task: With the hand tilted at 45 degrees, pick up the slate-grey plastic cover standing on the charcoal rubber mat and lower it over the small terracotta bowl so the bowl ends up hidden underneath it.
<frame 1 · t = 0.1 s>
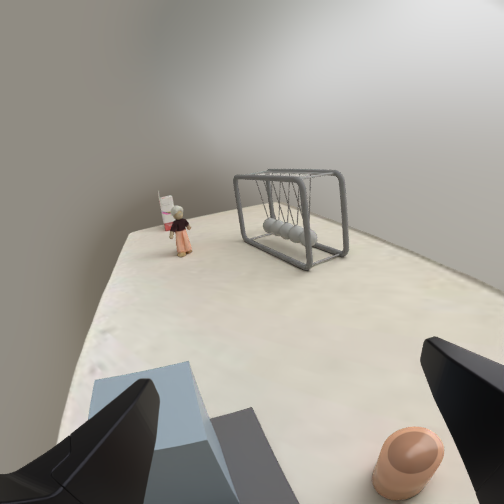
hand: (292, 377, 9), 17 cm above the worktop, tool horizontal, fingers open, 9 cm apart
grandmother figurine: (186, 253, 78), on the worktop
ink cartridge box: (171, 228, 111), on the worktop
cover: (186, 481, 19), resting on mat
bowl: (401, 475, 16), on the worktop
newton's cradle: (289, 249, 70), on the worktop
mat: (198, 493, 18), on the worktop
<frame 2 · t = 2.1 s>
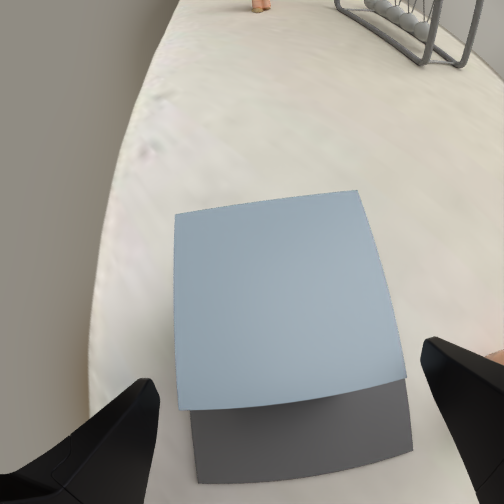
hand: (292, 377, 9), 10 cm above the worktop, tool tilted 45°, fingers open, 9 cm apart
grandmother figurine: (262, 10, 47), on the worktop
cover: (282, 341, 19), resting on mat
bowl: (493, 383, 15), on the worktop
newton's cradle: (393, 33, 40), on the worktop
mat: (294, 359, 18), on the worktop
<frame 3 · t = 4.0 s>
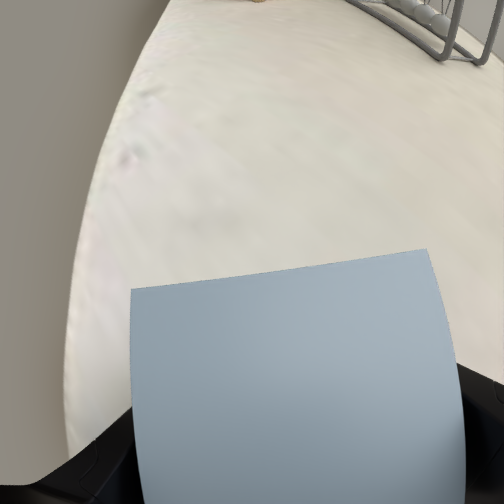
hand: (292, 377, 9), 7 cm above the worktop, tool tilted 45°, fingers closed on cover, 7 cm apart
cover: (291, 407, 14), resting on mat, touching gripper
newton's cradle: (406, 26, 35), on the worktop
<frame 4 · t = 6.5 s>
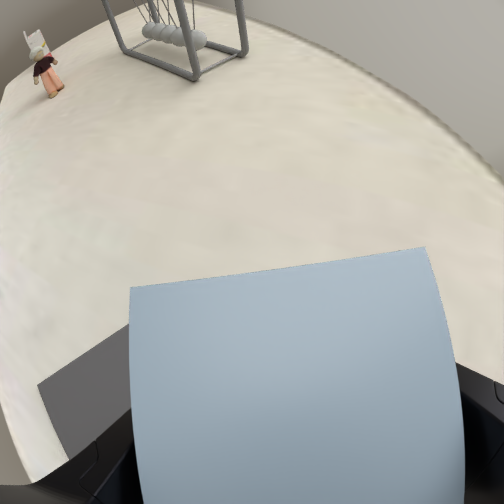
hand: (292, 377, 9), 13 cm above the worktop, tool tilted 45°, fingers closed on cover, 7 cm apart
grandmother figurine: (58, 91, 47), on the worktop
ink cartridge box: (46, 61, 62), on the worktop
cover: (290, 406, 14), point 7 cm above the worktop, touching gripper
newton's cradle: (175, 53, 45), on the worktop
mat: (124, 435, 20), on the worktop
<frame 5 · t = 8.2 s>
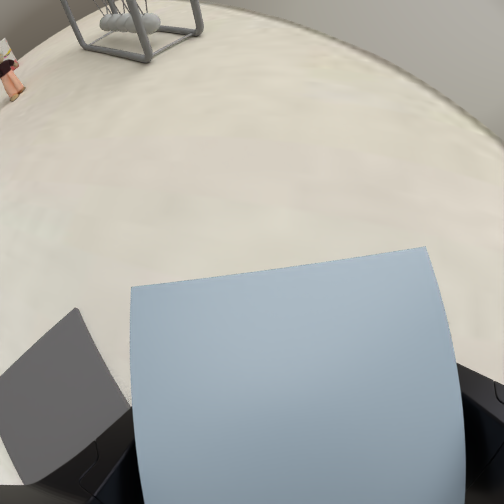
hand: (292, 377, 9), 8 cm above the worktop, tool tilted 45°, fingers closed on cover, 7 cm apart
grandmother figurine: (19, 93, 41), on the worktop
ink cartridge box: (13, 69, 55), on the worktop
cover: (291, 406, 14), point 1 cm above the worktop, touching gripper
newton's cradle: (132, 41, 40), on the worktop
mat: (65, 448, 14), on the worktop
when the fingers open (8 cm above the worktop, at t = 9.3 s): cover drops 1 cm, on the worktop.
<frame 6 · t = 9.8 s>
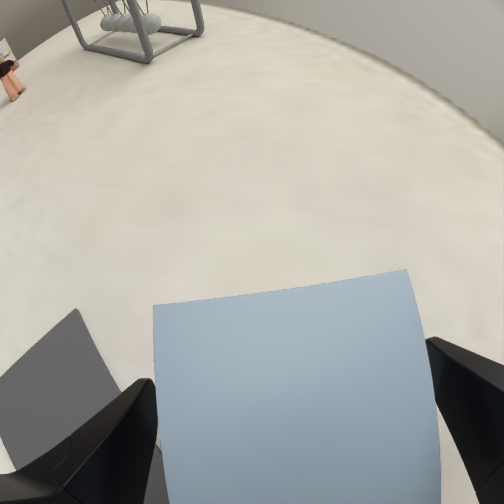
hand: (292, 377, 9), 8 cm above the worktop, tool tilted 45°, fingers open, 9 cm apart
grandmother figurine: (19, 94, 41), on the worktop
ink cartridge box: (13, 69, 55), on the worktop
cover: (290, 405, 15), on the worktop
newton's cradle: (133, 42, 41), on the worktop
mat: (65, 449, 14), on the worktop
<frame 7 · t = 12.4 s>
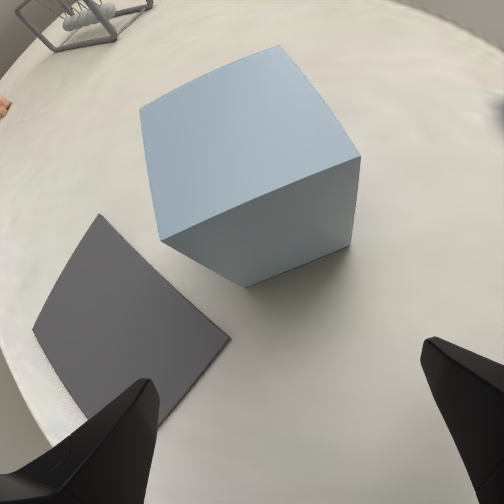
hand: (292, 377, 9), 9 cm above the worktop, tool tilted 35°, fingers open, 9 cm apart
grandmother figurine: (8, 109, 45), on the worktop
cover: (277, 217, 20), on the worktop
newton's cradle: (97, 31, 42), on the worktop
mat: (104, 336, 21), on the worktop
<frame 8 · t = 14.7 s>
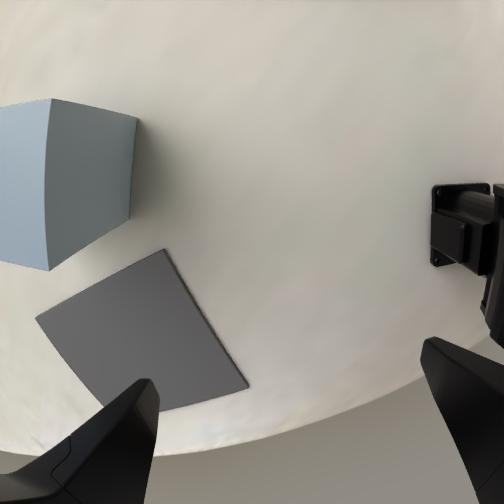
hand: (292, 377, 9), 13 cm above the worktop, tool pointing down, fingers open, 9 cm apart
cover: (88, 166, 19), on the worktop
mat: (132, 354, 24), on the worktop
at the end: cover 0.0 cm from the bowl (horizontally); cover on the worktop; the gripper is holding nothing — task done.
